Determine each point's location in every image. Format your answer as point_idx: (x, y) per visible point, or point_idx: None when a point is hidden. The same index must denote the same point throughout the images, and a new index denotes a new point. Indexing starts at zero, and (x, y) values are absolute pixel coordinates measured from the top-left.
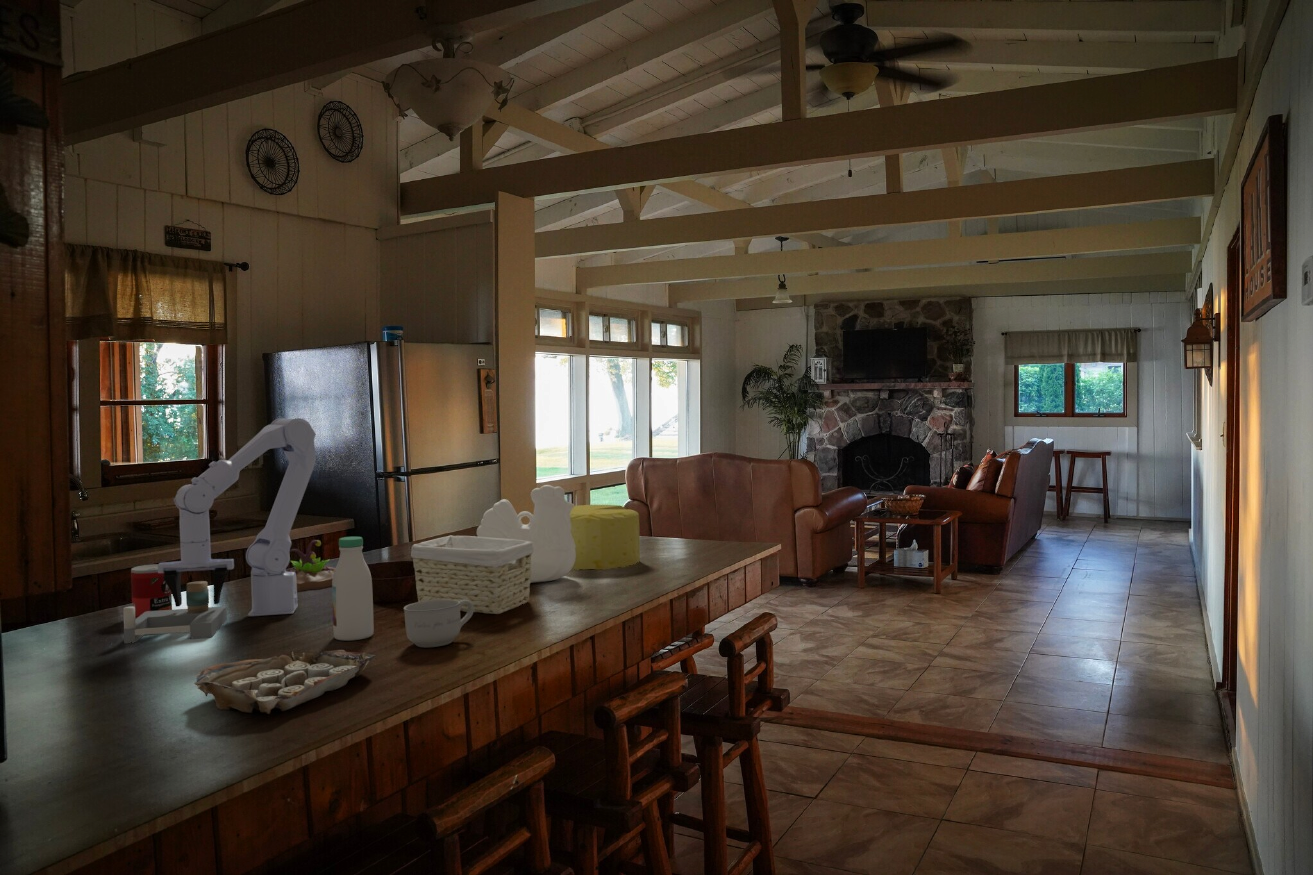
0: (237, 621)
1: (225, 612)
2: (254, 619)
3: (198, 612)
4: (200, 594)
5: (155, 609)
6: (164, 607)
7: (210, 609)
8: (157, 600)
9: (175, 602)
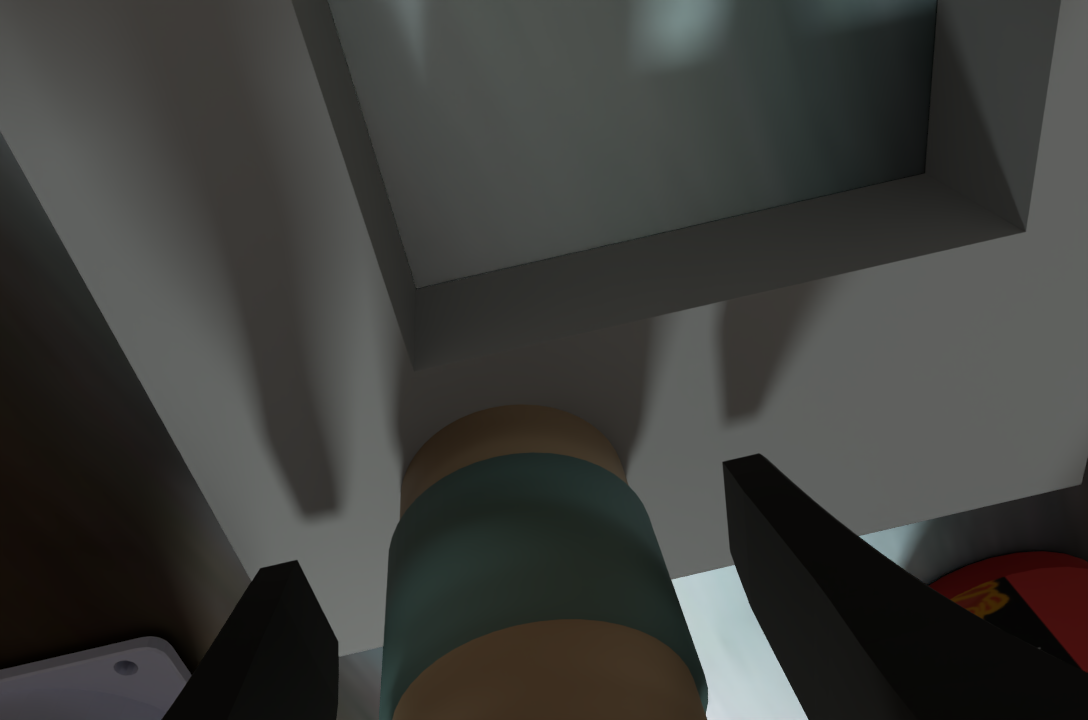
0: (169, 511)
1: None
2: (40, 572)
3: (461, 419)
4: (433, 609)
5: None
6: None
7: None
8: None
9: (783, 479)
